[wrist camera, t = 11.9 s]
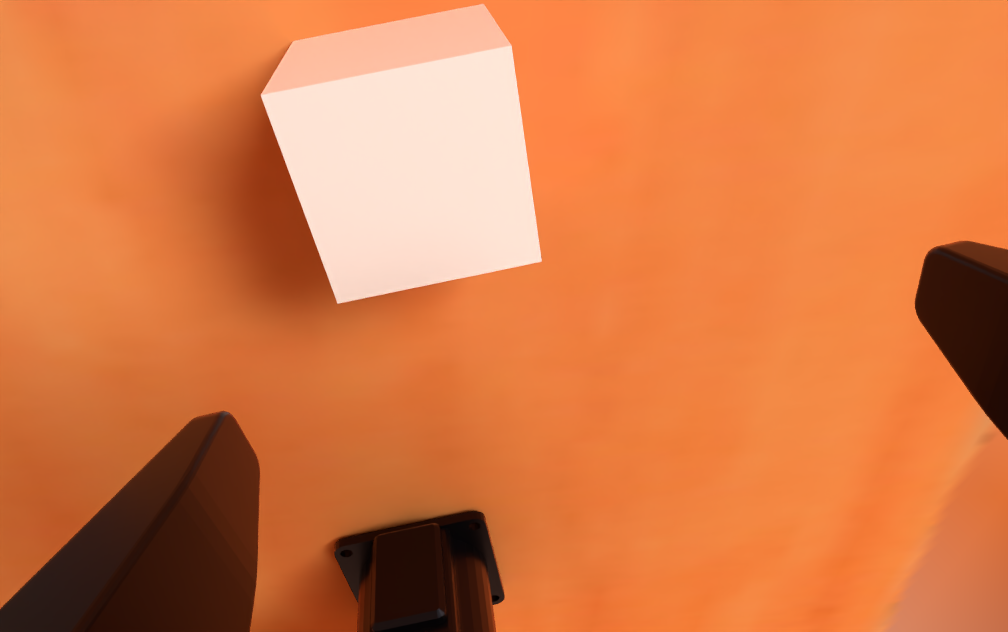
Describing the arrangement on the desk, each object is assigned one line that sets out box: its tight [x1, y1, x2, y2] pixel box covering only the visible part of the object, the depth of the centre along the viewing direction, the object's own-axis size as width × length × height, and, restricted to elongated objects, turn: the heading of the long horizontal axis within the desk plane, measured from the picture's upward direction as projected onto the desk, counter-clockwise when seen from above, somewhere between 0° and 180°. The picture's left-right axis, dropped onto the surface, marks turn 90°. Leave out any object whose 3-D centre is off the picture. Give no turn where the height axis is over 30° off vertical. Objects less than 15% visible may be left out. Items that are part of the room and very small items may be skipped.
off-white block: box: [261, 4, 542, 304], centre depth 16 cm, size 5×5×5 cm
